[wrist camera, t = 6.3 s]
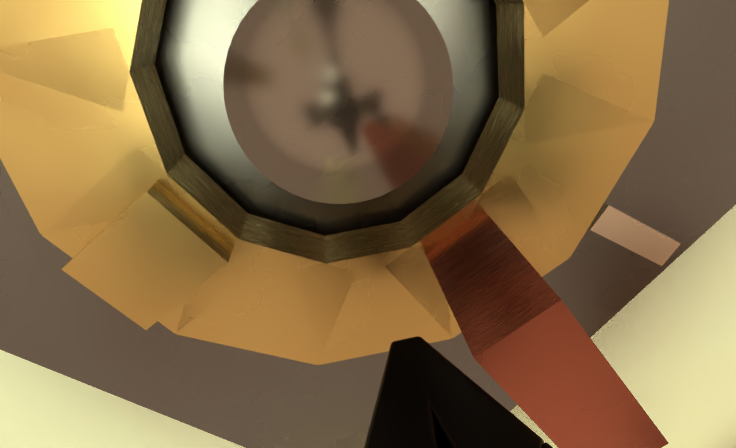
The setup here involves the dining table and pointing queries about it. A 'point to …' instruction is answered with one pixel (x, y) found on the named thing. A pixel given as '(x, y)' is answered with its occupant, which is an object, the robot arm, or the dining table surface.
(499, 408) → the robot arm
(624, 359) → the dining table surface
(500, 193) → the ring nut
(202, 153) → the cap plate
